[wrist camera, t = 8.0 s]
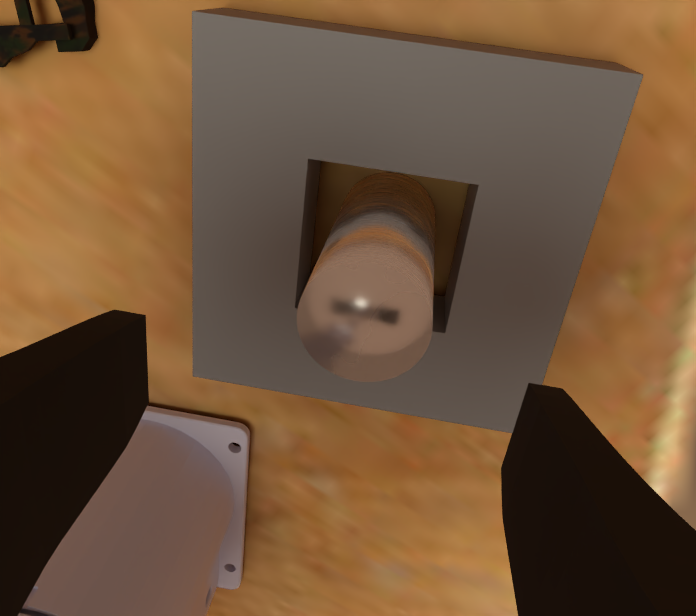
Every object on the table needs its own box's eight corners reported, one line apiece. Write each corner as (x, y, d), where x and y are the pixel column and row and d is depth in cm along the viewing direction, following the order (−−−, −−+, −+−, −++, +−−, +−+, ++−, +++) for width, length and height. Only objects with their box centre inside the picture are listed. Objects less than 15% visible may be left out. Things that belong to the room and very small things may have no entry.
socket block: (516, 390, 22) (525, 435, 20) (216, 338, 23) (192, 376, 20) (616, 62, 17) (643, 74, 15) (223, 7, 17) (192, 10, 15)
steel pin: (426, 269, 20) (418, 392, 14) (336, 253, 21) (291, 369, 14) (443, 180, 19) (444, 275, 13) (347, 165, 19) (302, 251, 13)
